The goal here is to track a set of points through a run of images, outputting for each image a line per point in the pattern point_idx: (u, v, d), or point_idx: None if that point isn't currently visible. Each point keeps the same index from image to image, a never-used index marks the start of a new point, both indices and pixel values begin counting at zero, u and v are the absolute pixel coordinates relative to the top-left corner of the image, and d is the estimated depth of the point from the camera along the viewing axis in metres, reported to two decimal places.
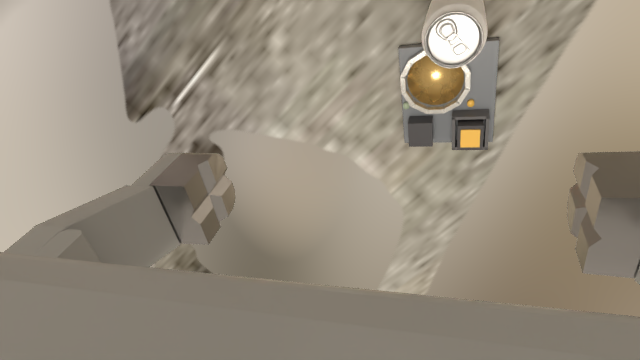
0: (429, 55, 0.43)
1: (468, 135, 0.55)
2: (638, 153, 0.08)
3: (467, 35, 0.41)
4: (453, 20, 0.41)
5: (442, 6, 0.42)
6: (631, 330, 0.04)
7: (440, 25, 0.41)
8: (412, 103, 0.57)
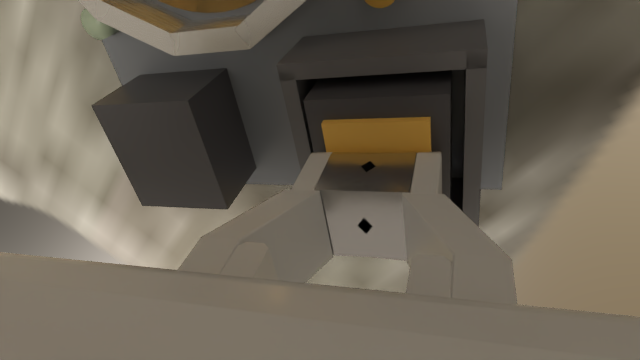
0: None
1: None
2: (413, 153, 0.09)
3: None
4: None
5: None
6: (632, 330, 0.04)
7: None
8: (95, 1, 0.11)
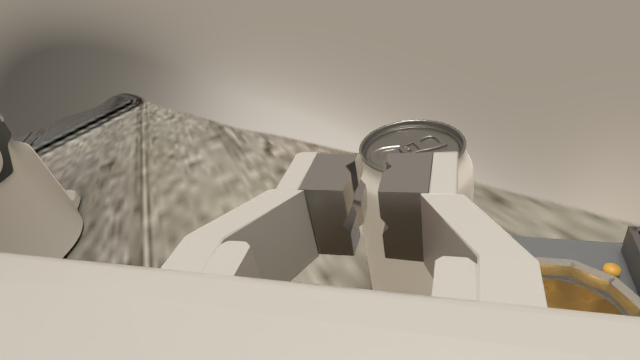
0: None
1: None
2: (429, 153, 0.09)
3: (407, 137, 0.24)
4: (377, 149, 0.23)
5: None
6: (631, 330, 0.04)
7: (379, 161, 0.22)
8: None
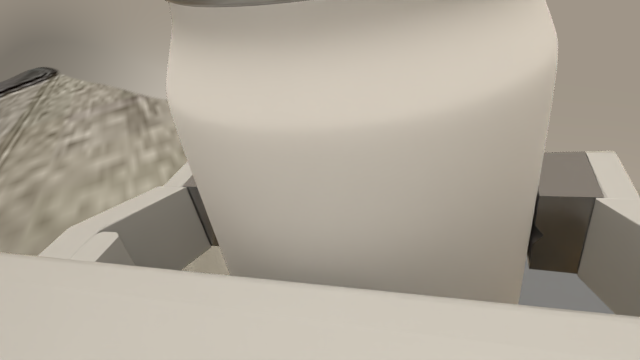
0: None
1: None
2: (581, 152, 0.08)
3: None
4: None
5: None
6: (631, 329, 0.04)
7: None
8: None
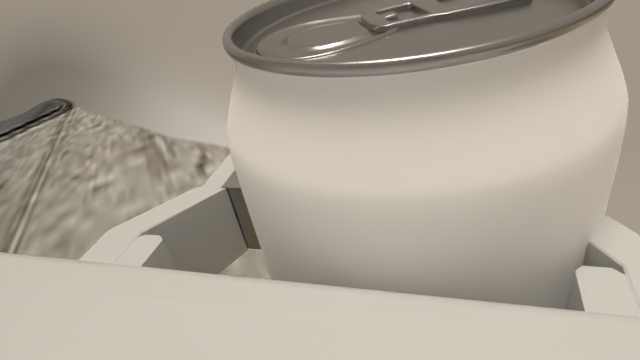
0: (480, 52, 0.04)
1: None
2: None
3: None
4: (295, 24, 0.07)
5: None
6: (631, 330, 0.04)
7: (282, 50, 0.06)
8: None
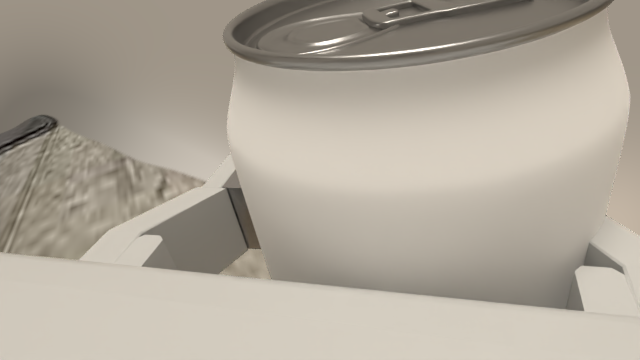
0: None
1: None
2: None
3: None
4: (296, 22, 0.07)
5: None
6: (631, 330, 0.04)
7: (283, 46, 0.06)
8: None
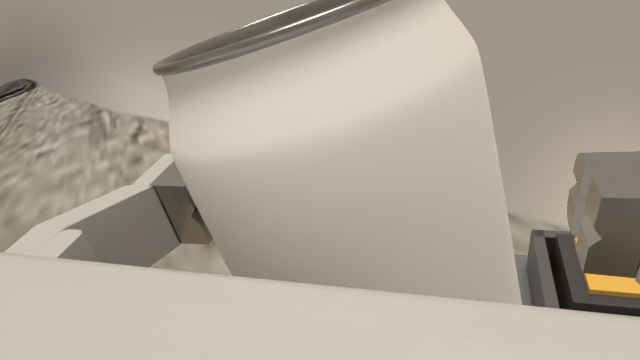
0: None
1: None
2: (638, 153, 0.08)
3: None
4: None
5: None
6: (631, 330, 0.04)
7: None
8: None
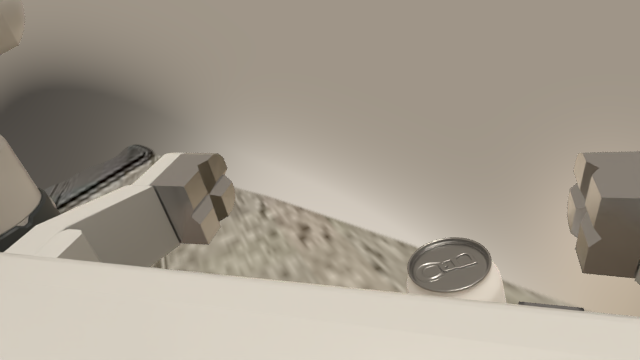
0: (463, 288, 0.26)
1: None
2: (638, 152, 0.08)
3: (446, 253, 0.30)
4: (421, 264, 0.30)
5: None
6: (631, 330, 0.04)
7: (423, 277, 0.29)
8: None
